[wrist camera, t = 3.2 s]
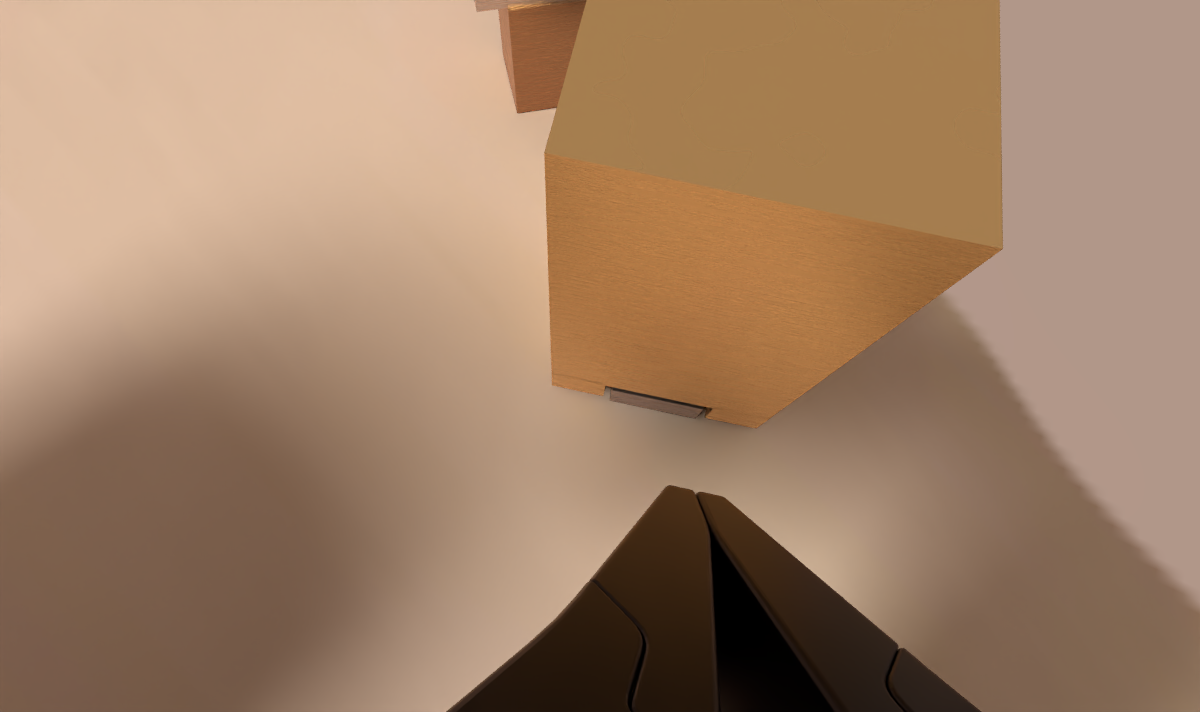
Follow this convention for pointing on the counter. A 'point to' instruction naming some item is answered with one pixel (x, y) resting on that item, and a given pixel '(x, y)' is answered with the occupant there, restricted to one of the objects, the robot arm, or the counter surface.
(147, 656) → the counter surface
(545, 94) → the rig
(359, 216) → the counter surface
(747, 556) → the robot arm
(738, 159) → the tan rectangular block
